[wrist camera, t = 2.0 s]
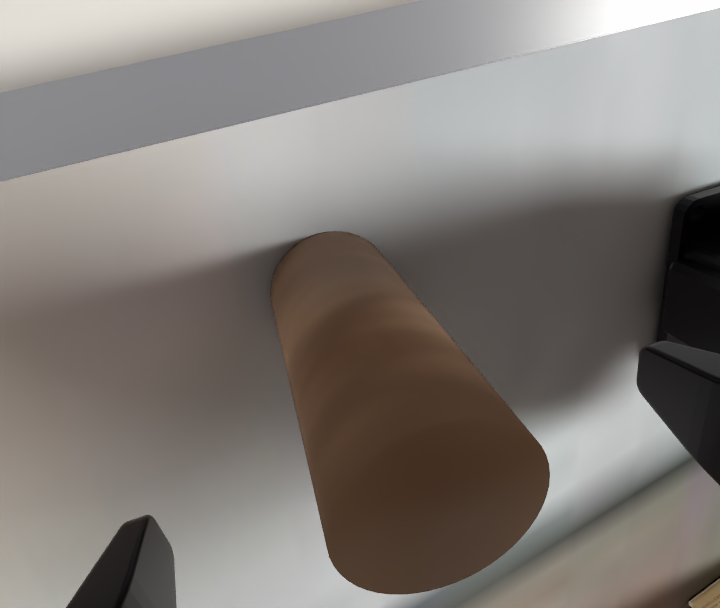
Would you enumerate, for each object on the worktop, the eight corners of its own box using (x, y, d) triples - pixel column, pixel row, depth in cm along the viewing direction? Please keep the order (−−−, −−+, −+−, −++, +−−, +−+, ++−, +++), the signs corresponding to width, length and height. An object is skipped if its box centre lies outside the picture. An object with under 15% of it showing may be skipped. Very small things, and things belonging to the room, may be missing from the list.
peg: (379, 216, 14) (550, 385, 7) (398, 323, 15) (549, 545, 8) (254, 251, 13) (298, 471, 6) (288, 357, 15) (353, 622, 8)
